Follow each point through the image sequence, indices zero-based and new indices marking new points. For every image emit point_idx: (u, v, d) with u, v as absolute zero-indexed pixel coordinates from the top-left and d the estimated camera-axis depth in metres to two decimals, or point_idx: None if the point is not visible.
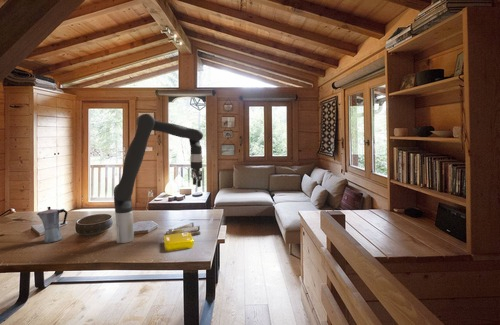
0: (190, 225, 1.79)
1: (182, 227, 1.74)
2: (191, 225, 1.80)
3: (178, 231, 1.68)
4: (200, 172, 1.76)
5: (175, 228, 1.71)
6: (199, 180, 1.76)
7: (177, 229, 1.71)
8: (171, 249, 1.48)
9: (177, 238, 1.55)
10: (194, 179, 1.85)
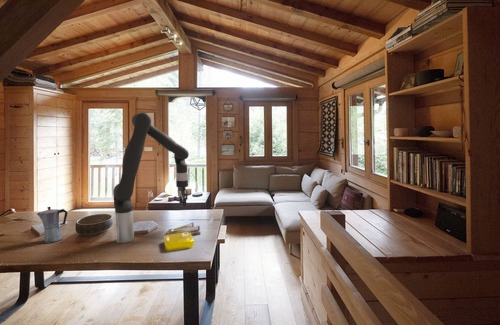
0: (190, 225, 1.79)
1: (182, 227, 1.74)
2: (191, 225, 1.80)
3: (178, 231, 1.68)
4: (185, 192, 1.76)
5: (175, 228, 1.71)
6: (184, 199, 1.76)
7: (177, 229, 1.71)
8: (171, 249, 1.48)
9: (177, 238, 1.55)
10: (180, 198, 1.85)
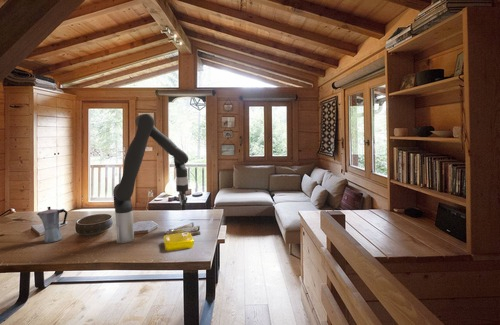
0: (190, 225, 1.79)
1: (182, 227, 1.74)
2: (191, 225, 1.80)
3: (178, 231, 1.68)
4: (185, 199, 1.77)
5: (175, 228, 1.71)
6: (183, 204, 1.80)
7: (177, 229, 1.71)
8: (171, 249, 1.48)
9: (177, 238, 1.55)
10: None
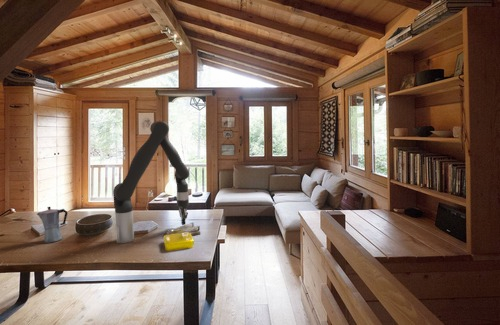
0: (190, 225, 1.79)
1: (182, 227, 1.74)
2: (191, 225, 1.80)
3: (178, 231, 1.68)
4: (186, 214, 1.78)
5: (175, 228, 1.71)
6: (183, 218, 1.80)
7: (177, 229, 1.71)
8: (171, 249, 1.48)
9: (177, 238, 1.55)
10: None
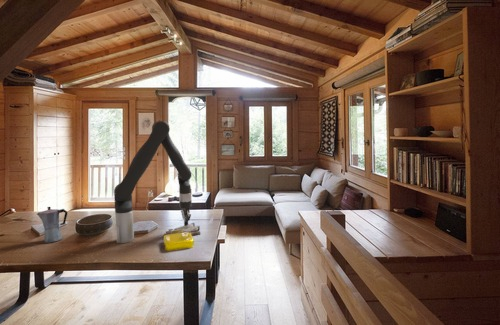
0: (191, 225, 1.78)
1: (182, 227, 1.74)
2: (192, 225, 1.79)
3: (178, 231, 1.68)
4: (189, 216, 1.73)
5: (175, 228, 1.70)
6: (186, 220, 1.76)
7: (177, 229, 1.71)
8: (171, 249, 1.48)
9: (177, 238, 1.55)
10: None
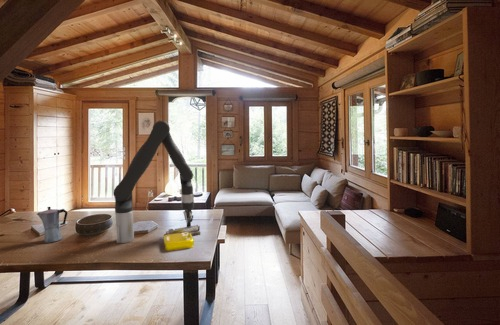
0: None
1: None
2: None
3: (178, 231, 1.68)
4: (191, 217, 1.70)
5: (176, 229, 1.70)
6: (189, 222, 1.73)
7: None
8: (171, 249, 1.48)
9: (177, 238, 1.55)
10: None
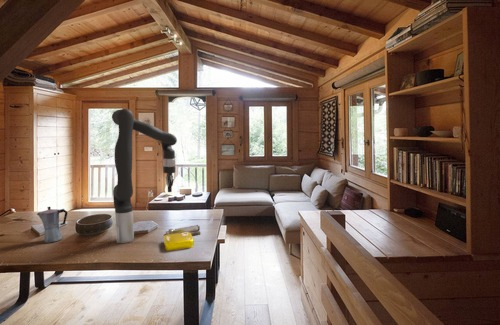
0: None
1: None
2: None
3: (178, 231, 1.68)
4: (171, 180, 1.76)
5: (176, 229, 1.70)
6: (169, 185, 1.79)
7: None
8: (171, 249, 1.48)
9: (177, 238, 1.55)
10: None
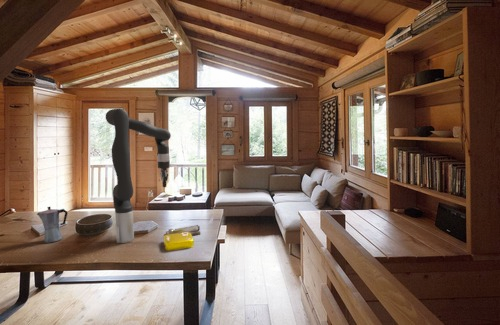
0: None
1: None
2: None
3: (178, 231, 1.68)
4: (166, 175, 1.78)
5: (176, 229, 1.70)
6: (164, 180, 1.81)
7: None
8: (171, 249, 1.48)
9: (177, 238, 1.55)
10: None
